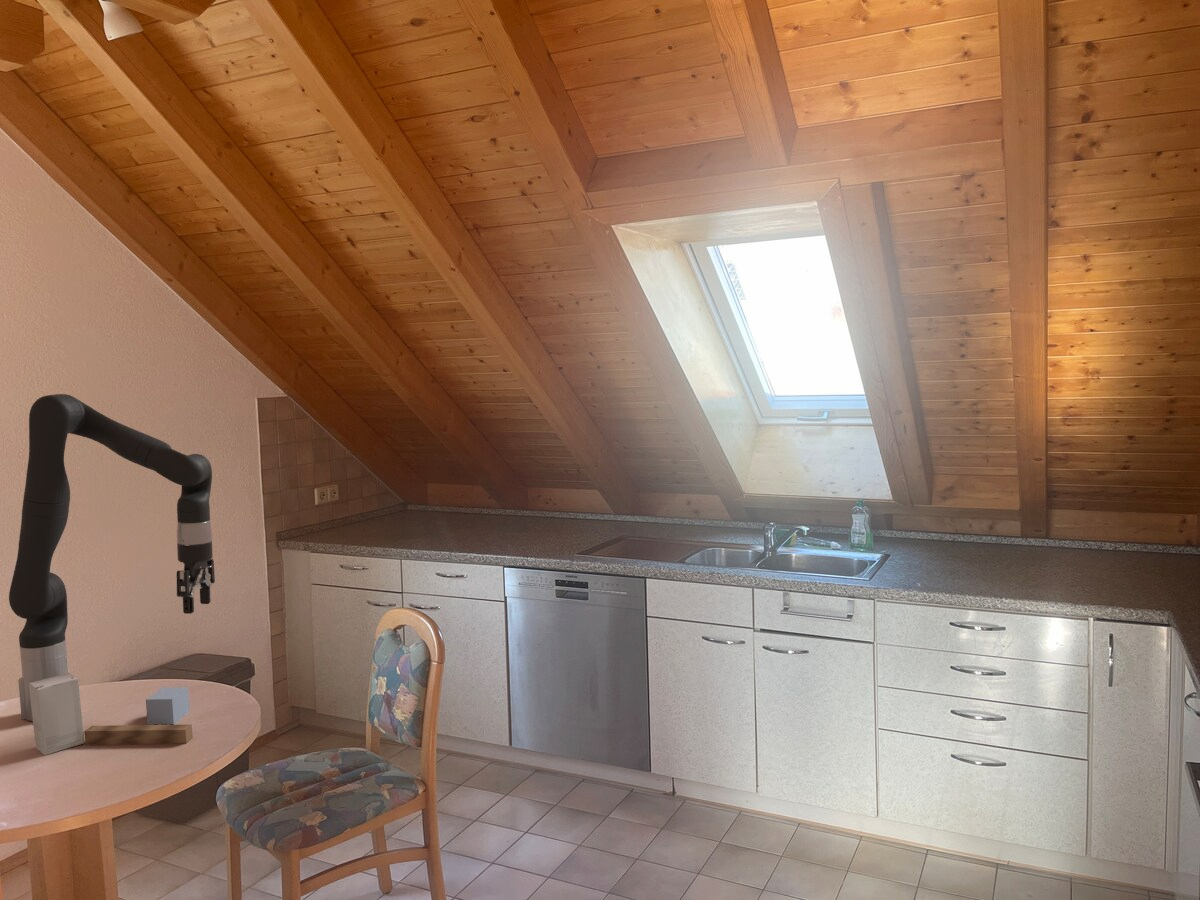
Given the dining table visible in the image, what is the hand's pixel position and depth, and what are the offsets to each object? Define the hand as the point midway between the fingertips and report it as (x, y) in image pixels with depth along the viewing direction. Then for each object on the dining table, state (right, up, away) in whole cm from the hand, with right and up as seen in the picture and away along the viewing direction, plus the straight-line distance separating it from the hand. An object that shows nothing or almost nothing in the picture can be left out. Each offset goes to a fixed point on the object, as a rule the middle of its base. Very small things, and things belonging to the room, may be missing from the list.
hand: (197, 608), depth 226 cm
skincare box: (-21, -27, -20) cm, 39 cm away
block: (-4, -25, -5) cm, 25 cm away
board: (-5, -26, -18) cm, 32 cm away
